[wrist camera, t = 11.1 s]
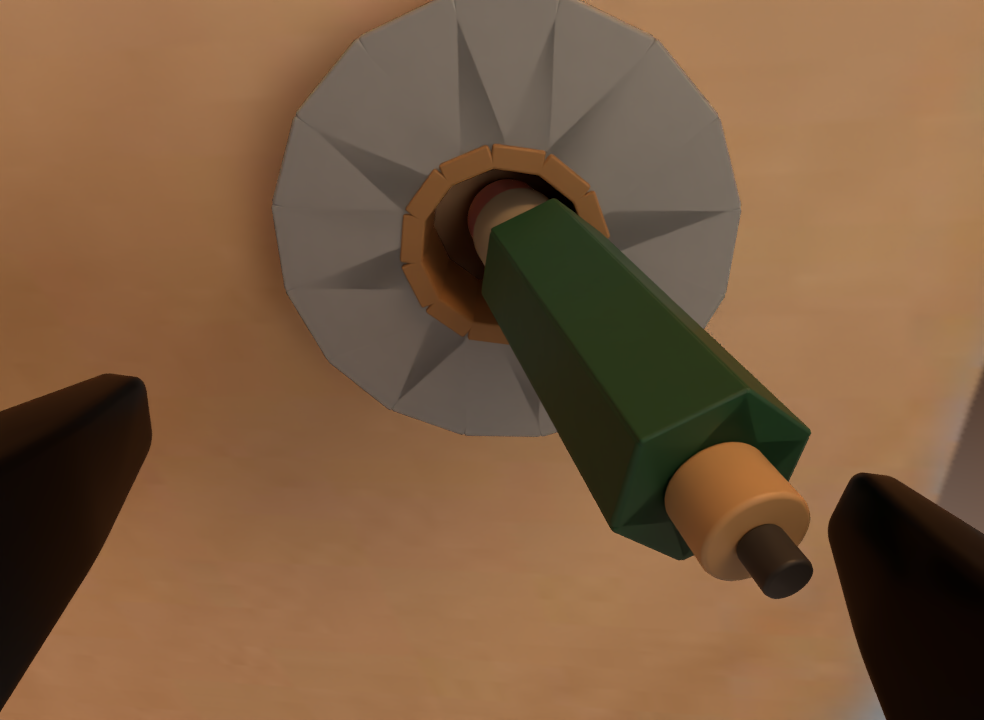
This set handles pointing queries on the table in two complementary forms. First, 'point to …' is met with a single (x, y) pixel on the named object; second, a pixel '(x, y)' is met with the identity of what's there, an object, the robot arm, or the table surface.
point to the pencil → (644, 395)
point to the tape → (475, 150)
